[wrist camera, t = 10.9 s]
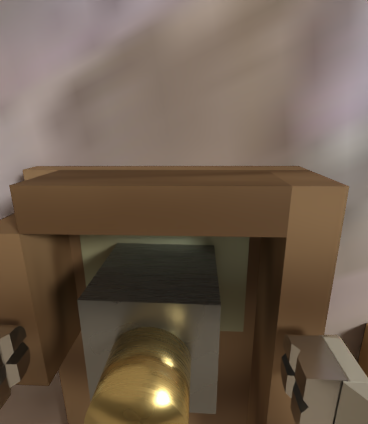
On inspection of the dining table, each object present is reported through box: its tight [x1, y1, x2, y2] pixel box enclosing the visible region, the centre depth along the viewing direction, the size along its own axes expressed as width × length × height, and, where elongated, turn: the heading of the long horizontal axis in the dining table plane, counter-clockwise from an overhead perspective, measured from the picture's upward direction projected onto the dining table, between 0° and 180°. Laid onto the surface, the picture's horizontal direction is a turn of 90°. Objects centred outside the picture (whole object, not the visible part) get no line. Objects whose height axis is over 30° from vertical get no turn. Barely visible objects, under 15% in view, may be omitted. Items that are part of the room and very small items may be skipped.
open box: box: [0, 166, 349, 424], centre depth 13 cm, size 20×11×4 cm, turn 0°
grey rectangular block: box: [77, 243, 221, 424], centre depth 9 cm, size 4×4×6 cm
